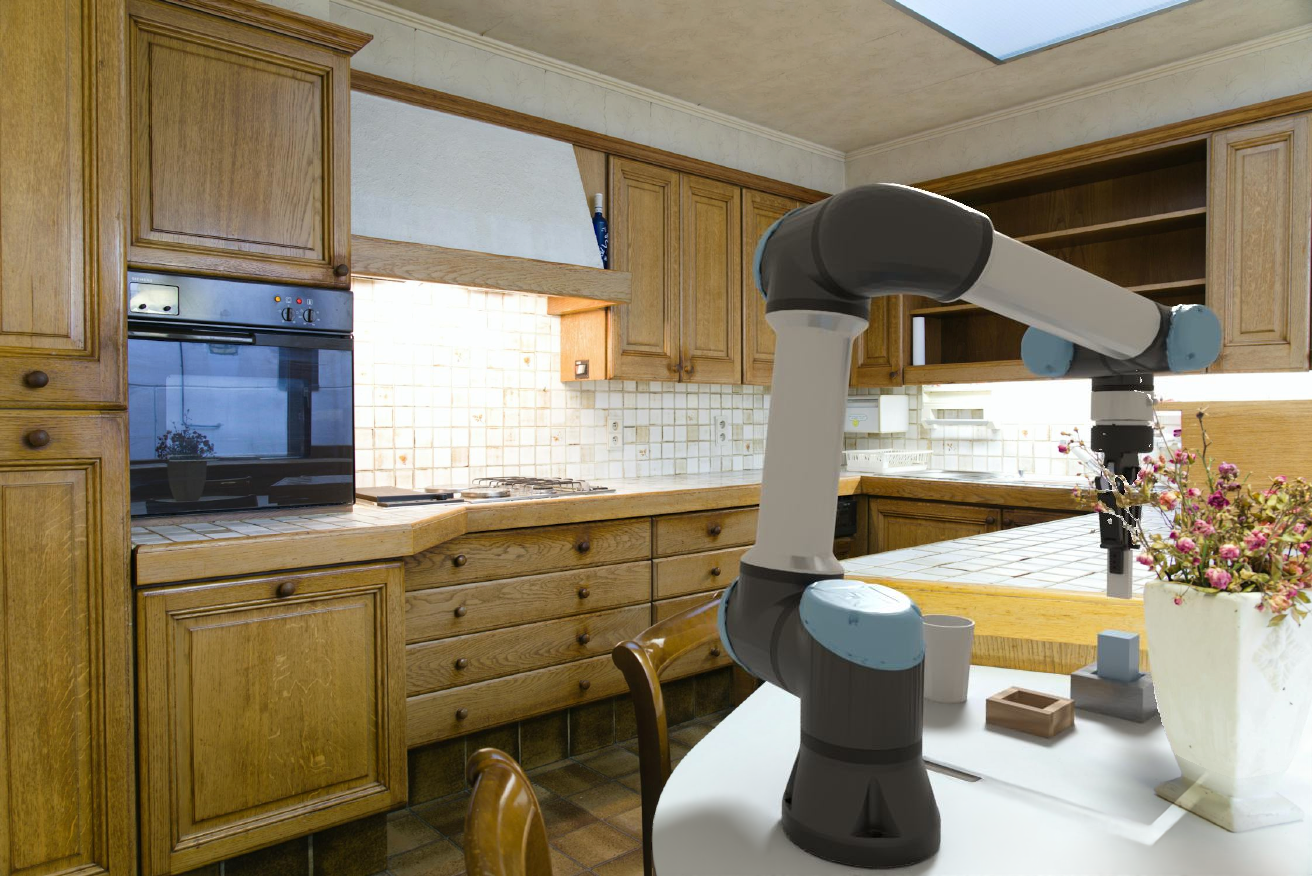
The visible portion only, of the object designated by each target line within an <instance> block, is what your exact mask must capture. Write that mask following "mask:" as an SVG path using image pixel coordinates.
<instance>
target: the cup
mask: <svg viewBox="0 0 1312 876" xmlns="http://www.w3.org/2000/svg"><path fill="white" fill-rule="evenodd" d="M922 618H923V632H924V638H925V642H926V648H925V670H924V699H926V700H930V701H932V702H938V703H941V704H944V703H945V704H958V703H959V704H960V703H963V702H965V701H967V700H968V690H969V681H970V680H969V679H970V670H971V669H970V668H971V658H972V650H973V649H972V648H973V643H974V636H975V635H974V634H975V626H976V625H975V624H976V622H975V620H973V619H970V618H967V617H963V616H958V615H953V614H952V615H951V614H943V613H942V614H939V613H936V614H935V613H933V614H931V613H930V614H929V613H928V614H922Z"/></svg>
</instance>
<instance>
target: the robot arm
mask: <svg viewBox="0 0 1312 876" xmlns="http://www.w3.org/2000/svg"><path fill="white" fill-rule="evenodd" d="M752 273H753V280H754V283H755V287H756V289H757V290H759V291H760V294H761V298H762V300H763V301H764V302H765V305H766V306H765V313H764V321H766V323H767V324H768V325H769V326H770V327H771V329H772V331H774V333H775V335H776V339H775V348H774V349H775V350H774V357H773V358H774V359H773V369H772V377H771V387H770V399H769V409H768V415H767V416H768V418H767V427H766V436H765V437H766V439H765V448H764V459H763V468H762V477H761V489H760V497H759V506H758V507H759V508H758V517H757V527H756V534H755V535H756V537H755V543H754V545H753V546H752V547H751V548H750V549H748V550H747V551H745V552H744V553H743V554H742V555H741V557H740V558H739V559H740V560H739V571H738V576H737V577H735V578H734V579H733V580H732V583H730V585H729V586H727V587H726V588H725V589H724V591H723V594H722V596H721V598H720V600H719V603H718V607H717V619H716V620H717V621H716V622H717V629H718V630H717V631H718V633H719V638H720V640H721V643H722V645H723V647H724V649H725V650H726V652H727V654H728V655H729V657H730V658H732V659H733V661H734V662H736V663H737V664H738V665H739V666H741V667H742V668H743V669H744V670H745V671H746V672H748V673H749V674H750V675H752V676H753V677H755V678H757V679H760V680H763V681H764V682H765V681H766V682H768V683H769V684H771V685H773V686H775V687H778V688H779V689H781V690H783V691H785V692H787V693H789V694H791V695H793V696H795V697H797V698H799V699H800V702H799V703H800V705H799V707H800V711H799V712H800V714H799V717H800V718H799V720H800V722H799V724H800V726H799V731H800V733H799V734H800V736H799V741H800V742H799V748H798V751H797V754H796V757H795V760H794V763H793V764H792V765H793V766H792V768H791V770H790V775H789V776H788V780H787V783H786V787H785V790H784V792H783V794H782V799H781V821H780V822H781V827H782V829H783V832H784V833H785V834H786V836H787V838H788V839H789V840H791V842H793V843H794V844H796V845H797V846H798V847H799V848H801V849H803V850H805V851H807V852H808V853H811V854H812V855H815V856H818V857H820V858H822V859H826V860H828V861H832V862H836V863H840V864H845V865H851V866H856V867H857V866H858V867H863V868H864V867H865V868H866V867H867V868H894V867H895V868H896V867H903V866H909V865H913V864H916V863H919V862H922V861H925V860H926V859H928V858H930V857H931V856H933V855H934V854H935V853H936V852H937V851H938V849H939V848H940V846H941V843H942V842H941V841H942V840H941V839H942V838H941V837H942V834H941V832H942V823H941V822H942V819H941V818H942V817H941V813H940V810H939V806H938V805H937V801H936V798H935V794H934V790H933V786H932V784H931V780H930V776H929V774H928V771H927V770H928V769H926V767H925V764H924V761H923V759H924V757H923V736H924V735H923V734H924V731H923V730H924V703H925V702H924V701H925V700H924V699H925V698H924V670H925V648H926V642H925V638H924V632H923V618H922V615H923V614H922V611H921V609H920V607H919V605H918V604H917V603H916V602H915V600H914V599H911V597H909V596H907V595H906V594H905V593H903V592H900V590H899V591H898V590H896V589H893V588H892V587H888V586H885V585H883V584H878V583H867V582H865V581H862V580H855V579H844V578H845V568H844V567H843V565H842V564H841V563H840V561H839V560H838V559H837V557H835V555H834V552H833V549H834V540H835V531H836V530H835V529H836V528H835V527H836V519H837V508H838V498H839V497H838V496H839V488H840V487H839V486H840V477H841V469H842V468H841V467H842V457H843V447H844V446H843V445H844V438H845V436H844V435H845V426H846V417H847V415H846V414H847V407H848V406H847V405H848V397H849V396H848V394H849V386H850V385H849V384H850V376H851V366H852V355H853V346H854V345H853V344H854V341H855V339H856V338H858V337H859V335H861V334H862V333H864V332H865V331H866V330H867V329H868V328H869V327H870V326H869V325H870V316H871V315H870V314H871V307H872V306H871V304H872V299H874V298H878V297H884V296H894V295H895V296H896V295H915V296H920V297H921V296H922V297H926V298H930V299H933V300H935V301H936V302H940V303H951V302H955V301H958V300H962V301H965V302H968V303H971V304H973V305H975V306H977V307H981V308H983V309H985V310H988V311H990V312H993V313H997V314H999V315H1001V316H1004V317H1006V318H1009V319H1012V320H1015V321H1016V322H1020V323H1022V324H1025V325H1027V326H1029V327H1028V328H1027V330H1026V331H1025V333H1024V335H1023V336H1022V339H1021V344H1020V346H1021V349H1020V351H1021V352H1020V356H1021V360H1022V363H1023V365H1024V367H1026V369H1027V370H1028V371H1029V372H1030V373H1031V374H1033V375H1035V376H1038V377H1043V378H1044V377H1045V378H1049V379H1052V380H1054V379H1060V378H1061V379H1091V392H1090V420H1091V421H1092V422H1095V425H1092V427H1090V450H1091V451H1092V452H1094V453H1103V455H1104V457H1103V462H1102V466H1103V465H1104V466H1105V468H1107V469H1109V471H1110V472H1112V473H1113V474H1115V475H1123V476H1124V477H1125V478H1126V480H1127V482H1128V483H1129V485H1132V484H1133V482H1134V481H1135V480H1136V479H1137V474H1138V472H1139V471H1140V470H1141V469H1142V467H1141V466H1140V459H1139V454H1150V453H1152V452H1153V451H1154V442H1155V439H1154V438H1155V436H1154V435H1155V428H1153V426H1152V425H1149V422H1152V421H1153V420H1154V416H1155V415H1154V412H1155V411H1154V410H1153V407H1155V406H1158V405H1159V399H1157V398H1155V384H1154V379H1155V375H1157V374H1175V375H1177V374H1181V373H1183V372H1193V371H1201V370H1204V369H1206V368H1208V367H1210V366H1211V365H1212V364H1213V363H1214V362H1215V361H1216V359H1217V358H1218V356H1219V354H1220V353H1221V348H1222V347H1221V346H1222V341H1223V328H1222V324H1221V321H1220V319H1219V318H1218V315H1217V314H1216V313H1215V312H1214V311H1213V310H1212V309H1211V308H1210V307H1208V306H1206V305H1202V304H1178V305H1177V306H1167V305H1163V304H1161V303H1159V302H1156V301H1154V300H1152V299H1150V298H1147V297H1144V296H1143V295H1140V294H1138V293H1136V292H1134V291H1131V290H1129V289H1126V288H1124V287H1122V286H1120V285H1118V284H1115V283H1113V282H1111V281H1108V280H1106V279H1104V278H1101V277H1100V276H1097V275H1095V274H1093V273H1090V272H1089V271H1086V270H1084V269H1082V268H1080V267H1077V266H1075V265H1072V264H1070V263H1068V262H1066V261H1064V260H1061V259H1059V258H1057V257H1055V256H1052V255H1050V254H1047V253H1045V252H1043V251H1041V250H1039V249H1037V248H1034V247H1032V246H1030V245H1028V244H1025V243H1023V242H1021V241H1019V240H1017V239H1014V238H1012V237H1009V236H1008V235H1006V234H1003V233H1001V232H998V231H996V230H995V227H994V225H993V222H992V220H991V219H990V217H988V216H987V215H986V214H984V213H982V212H981V211H978V210H976V209H973V208H971V207H969V206H966V205H964V204H963V203H960V202H957V201H955V200H952V199H949V198H947V197H944V196H941V195H938V194H936V193H932V192H929V191H925V190H922V189H919V188H914V187H910V186H907V185H901V184H897V183H884V182H875V183H873V182H872V183H863V184H859V185H855V186H853V187H850V188H847V189H844V190H843V191H841V192H839V193H837V194H834V195H831V196H830V197H827V198H824V199H822V200H819V201H817V202H814V203H813V204H808V205H803V206H800V207H798V208H794V209H793V210H790V211H789V212H787V213H786V214H785V215H783V216H782V217H781V218H780V219H777V220H776V221H774V222H772V224H771V225H770V226H769V227H768V228H767V229H766V230H765V232H764V233H763V234H762V236H761V237H760V239H759V241H758V243H757V246H756V248H755V252H754V256H753V261H752ZM1136 370H1137V371H1136ZM1140 377H1141V379H1142V382H1141V383H1140ZM1134 390H1137V391H1141V392H1144V393H1141V392H1135V391H1134ZM1147 394H1150V395H1151V399H1152V400H1153V407H1152V404H1151V401H1150V399H1149V397H1148V395H1147ZM1103 433H1105V434H1106V435H1103ZM1150 444H1151V445H1150ZM1149 445H1150V447H1149ZM1099 449H1102V450H1099ZM1093 481H1094V487H1095V490H1096V489H1098V490H1105V489H1109V490H1112V485H1110V483H1109V482H1108V481H1106V480H1105V479H1104V478H1103V476H1102V471H1101V470H1100V475H1095V476H1094V479H1093ZM1115 482H1116V486H1117V489H1118V491H1119V493H1121V494H1122V495H1124V493H1125V490H1124V483H1123V481H1122V480H1121V479H1120V478H1118V477H1116V478H1115ZM1096 495H1097V497H1096V498H1097V502H1098V501H1099V500H1101V501H1102V502H1103V503H1105V504H1106V506H1107V507H1109V508H1112V509H1113V510H1114V511H1115V514H1116V515H1120V516H1123V518H1124V520H1125V521H1126V522H1127V524H1129V525H1132V526H1133V527H1136V521H1135V520H1134V518H1136V519H1138V518H1139V519H1140V524H1141V521H1142V511H1143V510H1142V509H1143V505H1142V506H1141V507H1140V506H1131V507H1129V511H1130V513H1131V514H1132V515H1133V517H1134V518H1132V517H1131V516H1130V514H1129V513H1127V511H1126V510H1124V508H1121V507H1117V505H1116V498H1115V496H1114V494H1113V492H1112V491H1108V490H1106V493H1097V492H1096ZM1097 510H1098V509H1097ZM1110 518H1111V519H1112V524H1109V523H1108V521H1107V520H1108V519H1110ZM1098 520H1099V535H1100V544H1099V548H1100V549H1103V550H1104V549H1105V550H1107V554H1106V556H1107V557H1106V562H1107V563H1106V597H1107V598H1116V599H1122V600H1131V599H1133V569H1134V568H1133V566H1134V565H1133V564H1134V563H1133V562H1134V560H1133V558H1134V555H1133V554H1134V550H1140V549H1141V546H1142V544H1138V543H1135V545H1133V544H1132V542H1133V540H1132V537H1131V533H1130V531H1129V530H1127V529H1126V528H1123V527H1122V526H1123V521H1122V520H1121V518H1119V517H1116V516H1115V515H1112V514H1109V513H1103V512H1101V511H1099V510H1098ZM1136 536H1138V534H1137V530H1136Z"/></svg>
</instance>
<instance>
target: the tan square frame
mask: <svg viewBox="0 0 1312 876" xmlns="http://www.w3.org/2000/svg"><path fill="white" fill-rule="evenodd" d="M1075 710H1076V708H1075V700H1072V699H1070V698H1067V697H1064V696H1058V695H1054V694H1051V693H1045V692H1041V691H1036V690H1032V689H1027V688H1024V687H1019V686H1015V685H1012V686H1010V687H1008V688H1006V689H1004V690H1002V691H1000V692H997V693H996V694H995V693H994V694H993V695H991V696H988V697H987V698H985V723H986V724H991V725H994V726H998V727H1002V728H1006V729H1010V730H1013V731H1016V732H1017V731H1018V732H1021V733H1025V734H1028V735H1032V736H1036V737H1039V738H1044V739H1046V740H1047V739H1048V740H1050V739H1052V738H1053V737H1054V736H1056V735H1058V734H1060V733H1061V732H1063V731H1065V730H1066V729H1068V728H1069V727H1071V726H1073V725H1075Z"/></svg>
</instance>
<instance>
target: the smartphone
mask: <svg viewBox="0 0 1312 876" xmlns="http://www.w3.org/2000/svg"><path fill="white" fill-rule="evenodd" d="M923 761H924V764H925V767H926V770H928V771H931V772H935V773H938V774H942V775H944V776H945V775H946V776H948V777H951V778H954V779H957V780H962V781H963V782H968V783H977V782H979V781H980V780H981V779H983V778H982V777H980V776H977V775H974V774H972V773H968V772H965V771H961V770H958V769H955V768H952V767H950V766H949V767H948V766H945V765H942V764H939V763H936V762H933V761H930V760H926V759H924V758H923Z"/></svg>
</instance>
